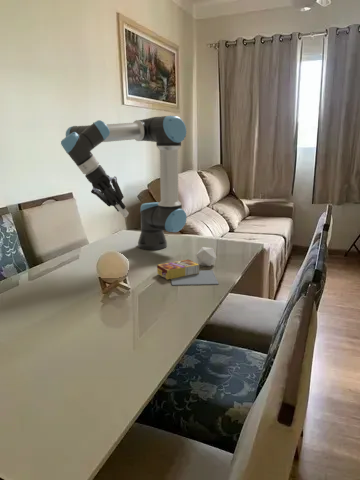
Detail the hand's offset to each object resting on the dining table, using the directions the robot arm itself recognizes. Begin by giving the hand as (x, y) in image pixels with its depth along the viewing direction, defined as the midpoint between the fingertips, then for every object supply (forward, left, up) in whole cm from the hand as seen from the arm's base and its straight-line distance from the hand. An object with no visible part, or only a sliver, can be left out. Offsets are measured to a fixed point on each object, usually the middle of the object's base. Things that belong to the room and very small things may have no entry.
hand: (126, 215), depth 163 cm
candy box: (+14, +14, -20) cm, 29 cm away
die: (-2, +34, -23) cm, 42 cm away
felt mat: (+15, +27, -23) cm, 38 cm away
